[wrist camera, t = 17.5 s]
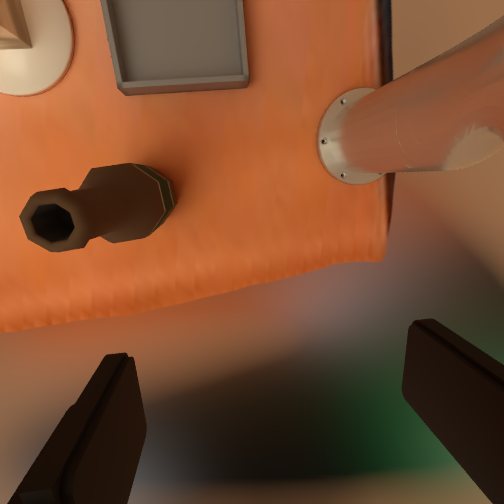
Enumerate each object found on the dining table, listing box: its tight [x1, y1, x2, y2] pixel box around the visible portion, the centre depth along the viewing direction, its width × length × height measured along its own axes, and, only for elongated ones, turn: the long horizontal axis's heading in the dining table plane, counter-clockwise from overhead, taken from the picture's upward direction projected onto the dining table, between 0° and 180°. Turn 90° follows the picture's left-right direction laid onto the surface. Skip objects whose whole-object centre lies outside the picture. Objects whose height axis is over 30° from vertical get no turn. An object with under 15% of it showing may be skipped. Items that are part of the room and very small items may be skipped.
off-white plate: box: [0, 0, 74, 97], centre depth 31 cm, size 14×14×1 cm
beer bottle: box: [19, 163, 177, 252], centre depth 27 cm, size 8×8×24 cm
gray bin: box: [100, 0, 249, 96], centre depth 32 cm, size 15×15×3 cm
